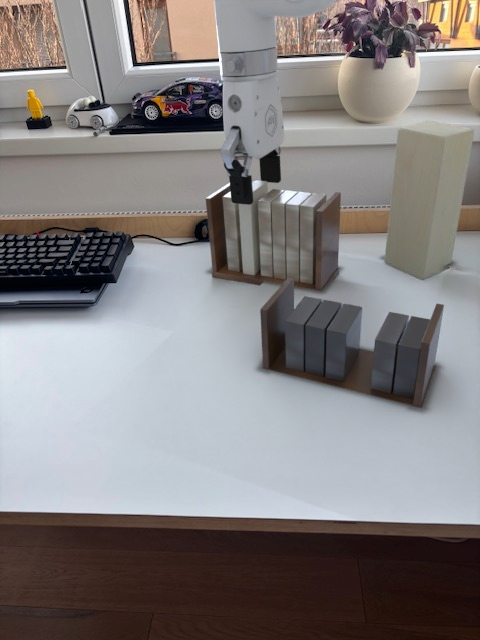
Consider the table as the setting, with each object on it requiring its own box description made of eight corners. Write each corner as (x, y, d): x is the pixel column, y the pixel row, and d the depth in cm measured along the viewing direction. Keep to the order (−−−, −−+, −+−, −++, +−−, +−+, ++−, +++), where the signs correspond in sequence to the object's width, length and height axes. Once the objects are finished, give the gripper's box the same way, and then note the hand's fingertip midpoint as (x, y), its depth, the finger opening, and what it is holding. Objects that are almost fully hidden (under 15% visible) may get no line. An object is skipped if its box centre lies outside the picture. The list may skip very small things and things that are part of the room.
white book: (270, 259, 88) (267, 181, 81) (254, 275, 84) (250, 193, 77) (259, 257, 89) (255, 180, 82) (242, 273, 85) (237, 192, 78)
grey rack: (435, 372, 63) (446, 304, 58) (421, 415, 57) (432, 344, 52) (287, 339, 70) (286, 277, 65) (261, 374, 64) (258, 309, 59)
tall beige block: (455, 266, 84) (478, 126, 73) (423, 281, 81) (443, 136, 70) (414, 250, 90) (430, 118, 79) (383, 263, 87) (395, 127, 76)
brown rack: (339, 273, 85) (342, 192, 78) (321, 296, 79) (323, 211, 72) (234, 256, 92) (229, 181, 86) (211, 276, 87) (204, 198, 80)
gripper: (245, 75, 63) (255, 215, 72) (299, 55, 76) (302, 176, 85) (190, 76, 66) (206, 210, 75) (251, 56, 79) (259, 173, 88)
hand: (257, 192), depth 80 cm, fingers open, 9 cm apart
